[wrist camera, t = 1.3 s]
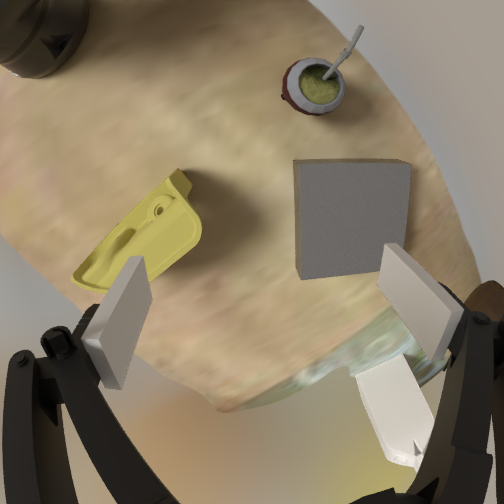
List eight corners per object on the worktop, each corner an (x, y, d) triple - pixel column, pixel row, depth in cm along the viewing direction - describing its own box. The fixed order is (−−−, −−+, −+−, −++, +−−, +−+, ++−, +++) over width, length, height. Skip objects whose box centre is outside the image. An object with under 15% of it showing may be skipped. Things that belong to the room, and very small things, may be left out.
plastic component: (181, 165, 38) (165, 180, 29) (216, 205, 40) (211, 232, 31) (92, 251, 42) (64, 284, 33) (124, 283, 45) (104, 321, 36)
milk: (404, 381, 61) (444, 464, 37) (362, 400, 62) (394, 489, 39) (402, 353, 56) (453, 446, 32) (355, 375, 57) (394, 476, 34)
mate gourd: (288, 122, 36) (320, 124, 22) (266, 68, 33) (285, 39, 19) (339, 106, 35) (393, 103, 22) (318, 54, 32) (363, 23, 18)
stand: (293, 160, 38) (299, 164, 35) (397, 159, 38) (411, 164, 35) (295, 266, 45) (300, 280, 41) (389, 256, 45) (400, 268, 42)
